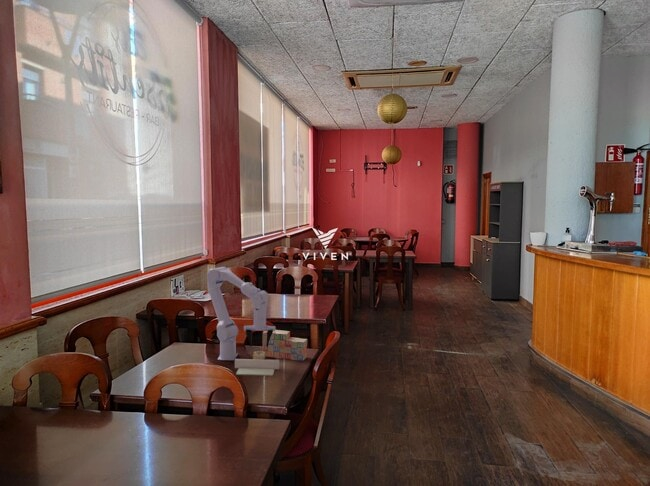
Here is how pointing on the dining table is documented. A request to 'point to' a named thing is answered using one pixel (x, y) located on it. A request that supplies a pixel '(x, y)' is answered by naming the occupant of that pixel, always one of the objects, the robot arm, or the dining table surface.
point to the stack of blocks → (284, 346)
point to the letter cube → (259, 355)
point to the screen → (257, 363)
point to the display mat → (255, 371)
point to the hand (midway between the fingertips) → (259, 345)
